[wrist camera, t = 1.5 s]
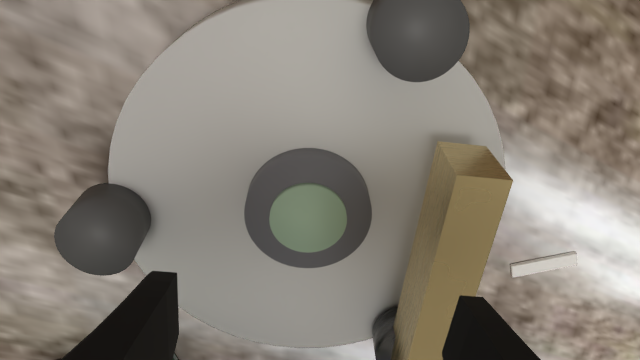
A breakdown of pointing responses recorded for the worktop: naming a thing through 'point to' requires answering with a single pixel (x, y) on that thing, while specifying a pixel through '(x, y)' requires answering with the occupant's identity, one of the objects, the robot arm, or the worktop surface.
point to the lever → (445, 251)
